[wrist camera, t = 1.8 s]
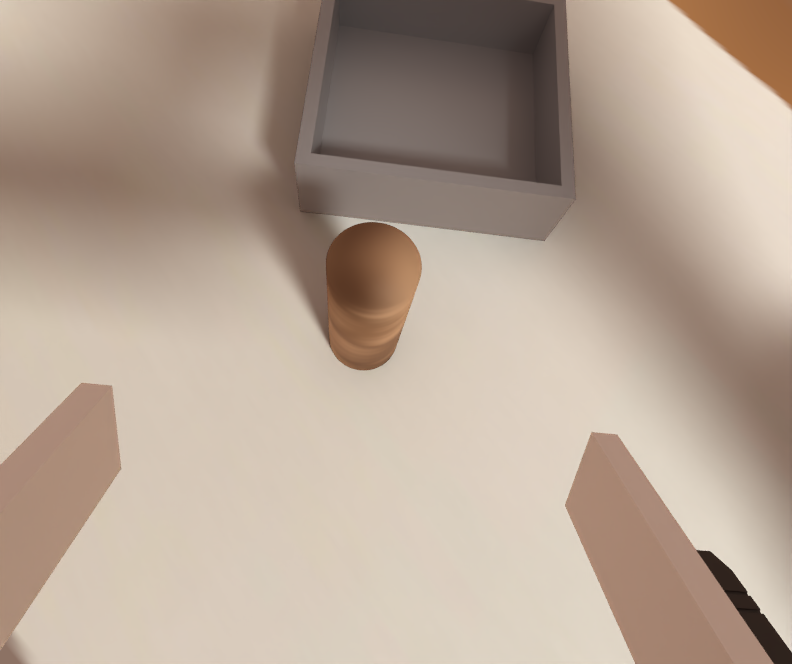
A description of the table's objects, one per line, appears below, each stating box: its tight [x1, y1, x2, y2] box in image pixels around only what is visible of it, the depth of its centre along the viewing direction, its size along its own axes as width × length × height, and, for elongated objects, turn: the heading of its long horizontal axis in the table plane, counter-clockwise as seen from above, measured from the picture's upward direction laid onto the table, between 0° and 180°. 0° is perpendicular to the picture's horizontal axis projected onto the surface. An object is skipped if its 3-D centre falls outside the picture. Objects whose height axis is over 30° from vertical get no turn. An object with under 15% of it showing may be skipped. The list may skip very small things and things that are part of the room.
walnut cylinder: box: [326, 222, 422, 370], centre depth 33 cm, size 5×5×12 cm
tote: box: [294, 0, 576, 241], centre depth 43 cm, size 20×20×6 cm
